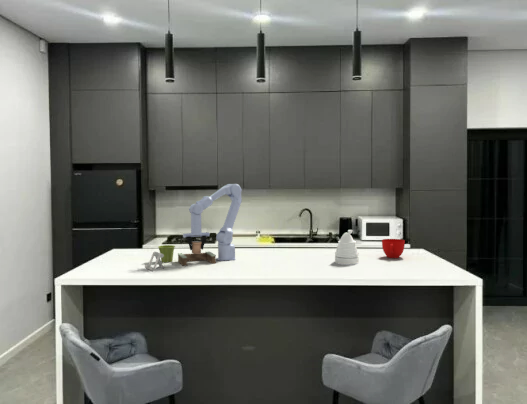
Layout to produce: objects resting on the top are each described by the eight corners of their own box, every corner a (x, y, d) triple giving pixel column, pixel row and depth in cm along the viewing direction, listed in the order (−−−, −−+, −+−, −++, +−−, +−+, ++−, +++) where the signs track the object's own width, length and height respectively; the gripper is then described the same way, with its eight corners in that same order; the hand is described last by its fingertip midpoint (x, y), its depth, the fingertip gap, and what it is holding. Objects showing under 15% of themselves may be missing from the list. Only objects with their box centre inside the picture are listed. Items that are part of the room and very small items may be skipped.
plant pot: (171, 263, 249) (171, 247, 249) (155, 262, 251) (155, 247, 251) (177, 260, 259) (177, 245, 258) (162, 259, 261) (162, 245, 260)
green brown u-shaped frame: (209, 259, 262) (209, 251, 262) (215, 263, 249) (215, 255, 249) (177, 261, 255) (177, 253, 255) (182, 265, 242) (182, 257, 242)
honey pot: (360, 261, 253) (361, 229, 252) (355, 265, 241) (355, 231, 241) (338, 259, 258) (338, 228, 258) (332, 263, 247) (332, 230, 246)
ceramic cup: (379, 259, 259) (379, 242, 259) (383, 254, 275) (383, 238, 274) (402, 260, 254) (403, 243, 254) (405, 256, 270) (405, 239, 270)
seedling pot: (200, 251, 255) (200, 241, 255) (202, 253, 250) (202, 242, 250) (190, 252, 253) (190, 241, 253) (192, 253, 248) (192, 242, 248)
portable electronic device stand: (144, 268, 235) (144, 252, 235) (158, 266, 240) (158, 251, 239) (151, 271, 228) (151, 254, 228) (165, 269, 233) (165, 253, 233)
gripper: (207, 224, 257) (207, 247, 258) (181, 225, 252) (182, 249, 253) (210, 225, 251) (210, 249, 251) (184, 226, 246) (184, 251, 246)
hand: (196, 249), depth 252 cm, fingers closed on seedling pot, 6 cm apart
